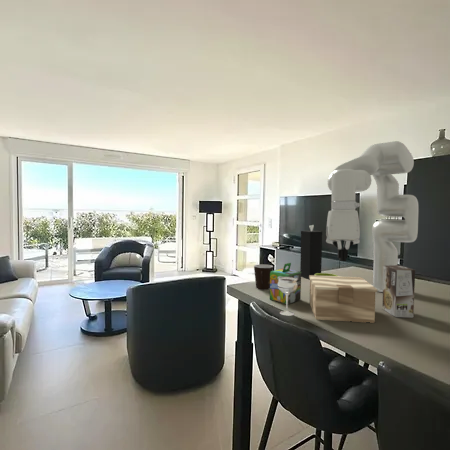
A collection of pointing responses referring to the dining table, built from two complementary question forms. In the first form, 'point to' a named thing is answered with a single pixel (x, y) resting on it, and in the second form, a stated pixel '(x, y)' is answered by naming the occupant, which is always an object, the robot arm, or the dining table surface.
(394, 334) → the dining table surface
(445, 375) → the dining table surface
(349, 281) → the lid
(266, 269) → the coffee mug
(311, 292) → the box
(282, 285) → the wineglass
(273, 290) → the chalk box
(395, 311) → the coffee box
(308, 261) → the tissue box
